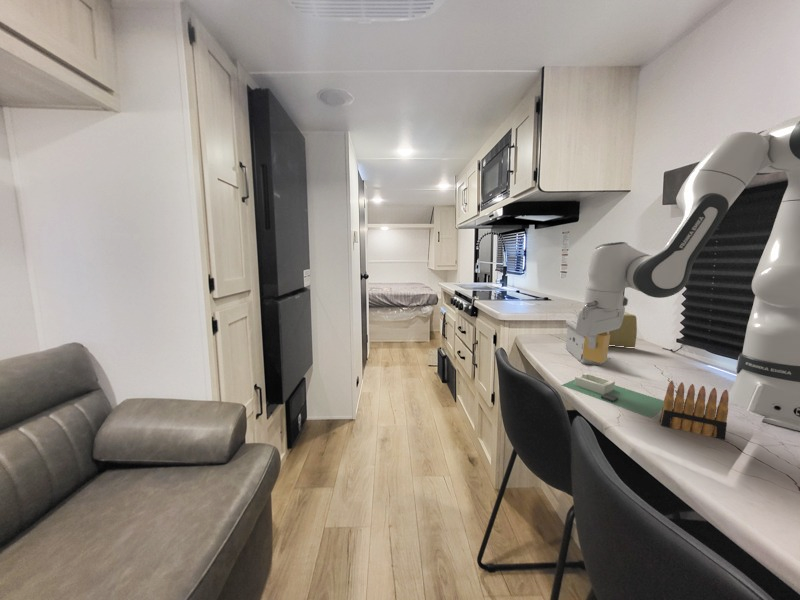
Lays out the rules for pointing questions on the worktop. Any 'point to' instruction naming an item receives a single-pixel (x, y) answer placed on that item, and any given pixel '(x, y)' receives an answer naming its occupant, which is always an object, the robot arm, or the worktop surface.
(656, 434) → the worktop surface
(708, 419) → the ammunition clip
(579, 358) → the stereo radio cassette player
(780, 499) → the worktop surface
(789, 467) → the worktop surface
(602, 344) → the yellow rectangular block
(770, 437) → the worktop surface
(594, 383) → the board
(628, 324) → the olive rectangular block
